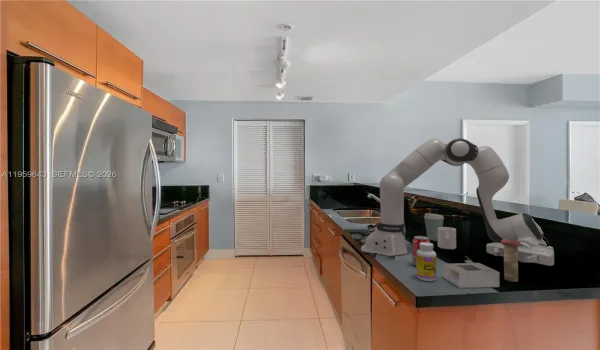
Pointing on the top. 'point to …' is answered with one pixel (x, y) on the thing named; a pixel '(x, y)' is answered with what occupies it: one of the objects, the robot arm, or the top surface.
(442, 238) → the mug
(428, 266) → the supplement bottle
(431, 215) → the disposable coffee cup
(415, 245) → the soda can
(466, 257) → the chef's knife
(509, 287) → the top surface
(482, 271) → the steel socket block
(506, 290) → the top surface
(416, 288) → the top surface
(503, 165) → the robot arm
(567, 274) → the top surface
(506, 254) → the wooden pin
